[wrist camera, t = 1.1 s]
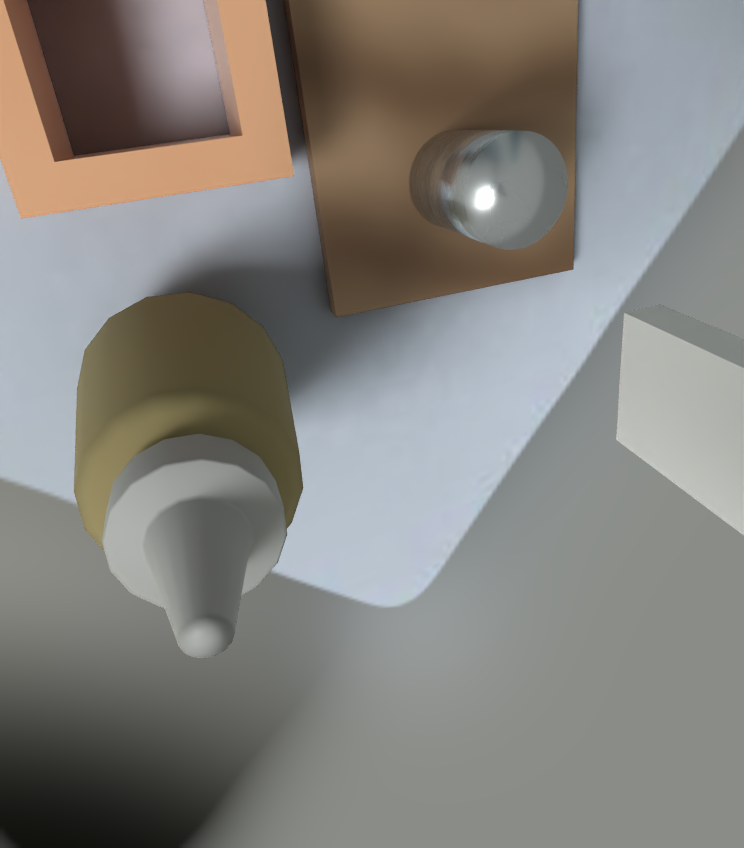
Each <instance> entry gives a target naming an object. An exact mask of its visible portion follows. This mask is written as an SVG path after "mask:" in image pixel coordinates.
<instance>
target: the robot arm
mask: <svg viewBox="0 0 744 848" xmlns="http://www.w3.org/2000/svg"><path fill="white" fill-rule="evenodd" d="M616 440H618V441H619V442H620V443H621V444H623V445H624V446H625V447H627V448H628V449H629V450H631V451H632V452H633V453H635V454H636V455H638V456H639V457H640V458H641V459H643V460H644V461H645V462H647V463H648V464H650V465H651V466H652V467H654V468H655V469H656V470H657V471H659V472H660V473H661V474H663V475H664V476H665V477H667V478H668V479H669V480H671V481H672V482H673V483H675V484H676V485H677V486H679V487H680V488H681V489H683V490H684V491H685V492H687V493H688V494H689V495H691V496H692V497H693V498H695V499H696V500H697V501H699V502H700V503H701V504H703V505H704V506H705V507H707V508H708V509H709V510H711V511H712V512H713V513H715V514H716V515H717V516H719V517H720V518H721V519H723V520H724V521H725V522H727V523H728V524H729V525H731V526H732V527H733V528H735V529H736V530H738V531H739V532H740V533H741V534H743V535H744V339H742V338H740V337H738V336H735V335H733V334H730V333H728V332H726V331H723V330H721V329H718V328H716V327H713V326H711V325H709V324H706V323H704V322H701V321H699V320H696V319H694V318H692V317H689V316H687V315H684V314H682V313H680V312H677V311H675V310H672V309H670V308H668V307H665V306H663V305H660V304H659V305H655V306H651V307H646V308H642V309H638V310H634V311H629V312H625V313H624V324H623V340H622V357H621V372H620V388H619V404H618V421H617V436H616Z"/></svg>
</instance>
